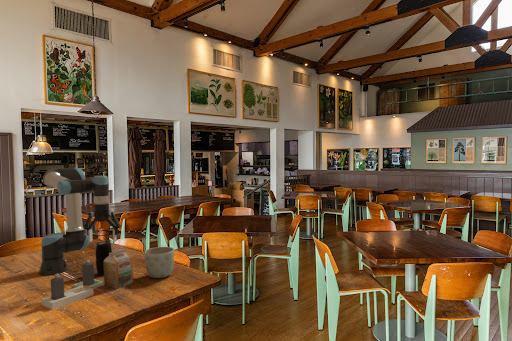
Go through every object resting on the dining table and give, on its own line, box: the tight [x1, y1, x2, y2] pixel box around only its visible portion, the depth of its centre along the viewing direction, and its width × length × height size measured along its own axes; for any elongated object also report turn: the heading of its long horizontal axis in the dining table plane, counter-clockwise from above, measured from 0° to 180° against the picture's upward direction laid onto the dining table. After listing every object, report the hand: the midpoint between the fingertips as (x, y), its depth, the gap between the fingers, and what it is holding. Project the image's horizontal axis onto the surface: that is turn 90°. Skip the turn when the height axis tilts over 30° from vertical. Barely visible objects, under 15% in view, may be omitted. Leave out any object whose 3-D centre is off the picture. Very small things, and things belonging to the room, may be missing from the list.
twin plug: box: [50, 273, 65, 300], centre depth 165 cm, size 4×4×14 cm
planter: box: [144, 246, 175, 279], centre depth 203 cm, size 17×17×15 cm
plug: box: [81, 259, 95, 286], centre depth 188 cm, size 4×4×14 cm
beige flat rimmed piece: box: [41, 285, 94, 310], centre depth 169 cm, size 10×20×4 cm, turn 147°
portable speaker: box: [95, 240, 113, 277], centre depth 208 cm, size 9×9×20 cm
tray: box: [72, 278, 104, 290], centre depth 188 cm, size 11×11×2 cm
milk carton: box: [103, 248, 134, 290], centre depth 189 cm, size 11×11×19 cm
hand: (102, 241), depth 193 cm, fingers open, 13 cm apart
